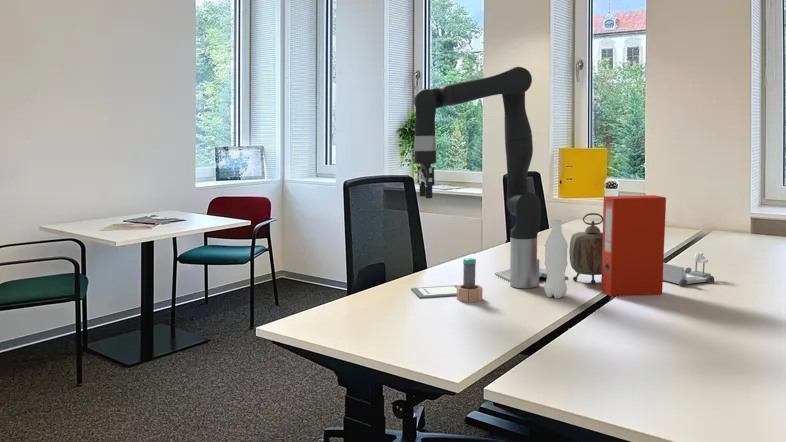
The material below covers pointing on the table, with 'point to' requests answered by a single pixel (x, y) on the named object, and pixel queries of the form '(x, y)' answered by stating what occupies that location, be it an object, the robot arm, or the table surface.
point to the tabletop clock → (587, 250)
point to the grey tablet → (435, 291)
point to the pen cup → (469, 294)
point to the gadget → (506, 274)
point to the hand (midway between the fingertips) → (425, 197)
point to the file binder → (633, 245)
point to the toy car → (686, 273)
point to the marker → (469, 273)
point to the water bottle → (556, 261)
